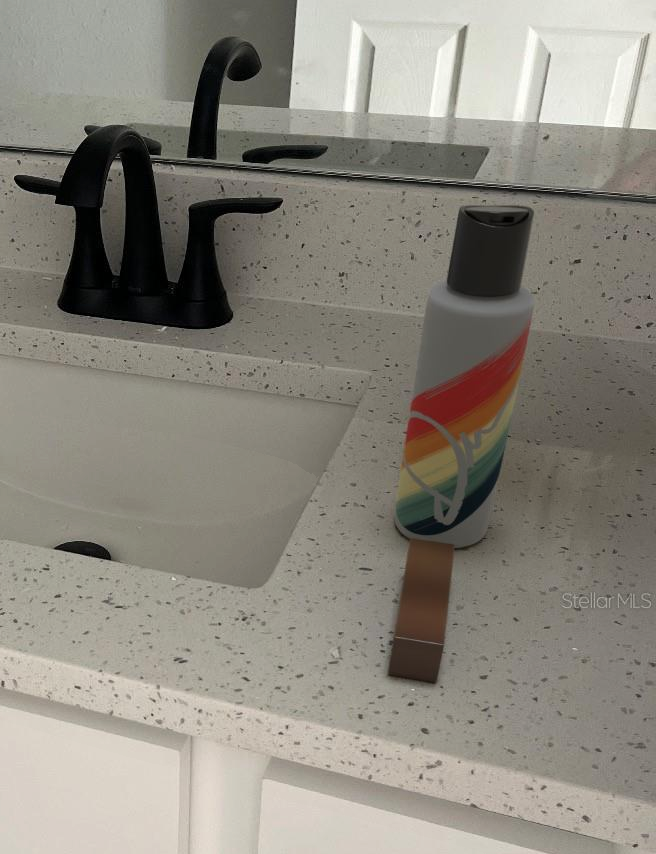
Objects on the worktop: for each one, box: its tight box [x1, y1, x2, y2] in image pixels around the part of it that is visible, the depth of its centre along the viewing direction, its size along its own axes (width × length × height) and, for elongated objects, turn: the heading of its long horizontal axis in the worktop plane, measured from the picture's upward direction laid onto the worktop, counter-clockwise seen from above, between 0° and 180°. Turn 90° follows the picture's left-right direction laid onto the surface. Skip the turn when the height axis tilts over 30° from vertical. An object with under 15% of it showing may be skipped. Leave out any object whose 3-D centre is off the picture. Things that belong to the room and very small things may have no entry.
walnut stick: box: [387, 538, 456, 683], centre depth 66 cm, size 10×2×2 cm, turn 162°
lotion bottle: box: [394, 204, 535, 549], centre depth 69 cm, size 6×6×20 cm
